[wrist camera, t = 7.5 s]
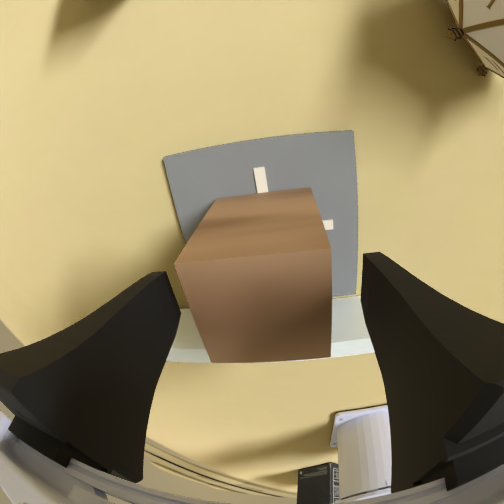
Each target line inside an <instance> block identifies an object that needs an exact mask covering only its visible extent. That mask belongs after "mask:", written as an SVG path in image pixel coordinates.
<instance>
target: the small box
mask: <svg viewBox="0 0 504 504" xmlns="http://www.w3.org/2000/svg"><path fill="white" fill-rule="evenodd" d="M338 500H340V492H339V465H338V464H335V463H328V464H324V465H319V466H315V467H310V468H305V469H301V470H298V491H297V504H335V501H338Z"/></svg>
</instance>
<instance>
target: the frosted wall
mask: <svg viewBox="0 0 504 504" xmlns="http://www.w3.org/2000/svg"><path fill="white" fill-rule="evenodd" d="M360 300H361V296H353V297H344V298H335V299H332V335H331V357H328V358H333V357H342V356H350V355H358V354H365V353H372V352H375V351H374V348H373V345H372V342H371V339H370V336H369V333H368V330H367V327H366V324H365V320H364V315H363V310H362V305H361V301H360ZM180 311H181V317H180V321H179V326H178V329H177V333H176V336H175V339H174V342H173V344H172V347H171V349H170V352H169V354H168V357H167V359H166V361H172V362H192V363H211V361H210V358H209V356H208V353H207V351H206V349H205V346H204V344H203V341H202V339H201V336H200V334H199V331H198V329H197V326H196V324H195V321H194V319H193V316H192V313H191V311H190V308H187V309H180ZM318 359H324V358H318ZM307 360H313V359H307ZM294 361H301V360H294ZM278 362H286V361H278ZM252 363H265V362H252Z"/></svg>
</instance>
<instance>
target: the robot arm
mask: <svg viewBox="0 0 504 504" xmlns="http://www.w3.org/2000/svg"><path fill="white" fill-rule="evenodd" d="M360 301H361V305H362V310H363V315H364V320H365V324H366V327H367V330H368V333H369V336H370V339H371V342H372V345H373V348H374V351H375V354H376V357H377V361H378V364H379V367H380V370H381V373H382V378H383V382H384V386H385V392H386V399H387V405H383V406H378V407H372V408H366V409H360V410H353V411H346V412H339V413H337V414H336V415H335V419H334V425H333V431H332V436H331V441H330V447H331V448H335V447H338V463H339V492H340V500H338V501H335V504H504V324H503V323H500V322H498V321H495V320H493V319H490V318H488V317H486V316H483V315H481V314H479V313H477V312H474V311H472V310H470V309H468V308H466V307H464V306H462V305H460V304H459V303H457V302H455V301H453V300H451V299H449V298H448V297H446V296H444V295H442V294H441V293H439V292H438V291H436V290H435V289H433V288H431V287H430V286H428V285H427V284H425V283H424V282H422V281H421V280H419V279H418V278H416V277H415V276H414V275H412V274H411V273H409V272H408V271H407V270H405V269H404V268H402V267H401V266H400V265H398V264H397V263H395V262H394V261H393V260H391V259H390V258H388V257H387V256H385V255H384V254H382V253H381V252H374V253H365V254H363V270H362V287H361V300H360ZM180 317H181V311H180V308H179V306H178V303H177V300H176V298H175V295H174V293H173V290H172V287H171V284H170V282H169V279H168V276H167V273H166V271H163V272H152V273H150V274H148V275H146V276H145V277H143V278H141V279H140V280H138V281H137V282H135V283H134V284H133V285H131V286H130V287H128V288H127V289H126V290H124V291H123V292H121V293H120V294H119V295H117V296H116V297H114V298H113V299H112V300H110V301H109V302H107V303H106V304H104V305H103V306H101V307H100V308H98V309H97V310H96V311H94V312H93V313H91V314H90V315H88V316H87V317H85V318H83V319H82V320H80V321H78V322H77V323H75V324H73V325H71V326H70V327H68V328H66V329H64V330H62V331H60V332H58V333H56V334H54V335H52V336H50V337H48V338H45V339H43V340H41V341H38V342H36V343H33V344H31V345H28V346H25V347H22V348H19V349H16V350H12V351H8V352H5V353H1V354H0V401H1V402H2V403H3V404H4V405H5V406H6V407H7V408H8V409H9V410H10V411H11V412H12V413H13V414H14V415H15V417H14V419H13V420H12V419H10V418H9V417H8V416H7V415H5V414H4V413H3V412H1V411H0V486H1V488H2V489H3V490H4V492H5V493H6V495H7V496H8V497H9V499H10V500H11V501H12V503H13V504H114V503H112V502H109V501H108V499H107V496H106V494H109V495H111V496H113V497H116V498H118V499H121V500H123V501H126V502H129V503H132V504H229V503H220V502H213V501H206V500H200V499H194V498H189V497H184V496H180V495H175V494H171V493H166V492H163V491H159V490H155V489H151V488H148V487H145V486H141V485H138V484H135V483H137V482H139V481H141V480H142V479H143V459H144V447H145V438H146V430H147V425H148V419H149V414H150V409H151V404H152V400H153V396H154V392H155V388H156V385H157V382H158V380H159V377H160V374H161V372H162V369H163V367H164V364H165V362H166V359H167V357H168V354H169V352H170V349H171V347H172V344H173V342H174V339H175V336H176V333H177V329H178V326H179V321H180ZM102 471H103V472H102ZM104 472H105V473H104ZM107 473H108V474H107ZM109 474H111V475H109ZM112 475H113V476H112ZM115 476H116V477H115ZM117 477H119V478H117ZM120 478H121V479H120ZM123 479H124V480H123ZM126 480H127V481H126ZM129 481H130V482H129ZM132 482H133V483H132ZM103 492H104V493H103ZM105 493H106V494H105Z"/></svg>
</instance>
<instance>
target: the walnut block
mask: <svg viewBox="0 0 504 504" xmlns="http://www.w3.org/2000/svg"><path fill="white" fill-rule="evenodd" d="M174 266H175V269H176V272H177V275H178V278H179V280H180V283H181V286H182V289H183V292H184V294H185V297H186V300H187V303H188V305H189V308H190V311H191V313H192V316H193V319H194V321H195V324H196V326H197V329H198V331H199V334H200V336H201V339H202V341H203V344H204V346H205V349H206V351H207V353H208V356H209V358H210V361H211V363H252V362H278V361H294V360H307V359H318V358H328V357H331V335H332V254H331V246H330V243H329V240H328V236H327V233H326V230H325V227H324V224H323V221H322V218H321V215H320V212H319V209H318V207H317V204H316V201H315V198H314V195H313V192H312V190H311V187H308V188H298V189H289V190H280V191H272V192H263V193H255V194H248V195H240V196H233V197H226V198H219V199H216V200H215V202H214V203H213V204H212V206H211V207H210V209H209V210H208V212H207V213H206V215H205V216H204V218H203V219H202V221H201V222H200V224H199V225H198V227H197V228H196V230H195V231H194V233H193V234H192V236H191V237H190V239H189V241H188V242H187V244H186V245H185V247H184V248H183V250H182V251H181V253H180V255H179V256H178V258H177V259H176V261H175V262H174Z"/></svg>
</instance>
